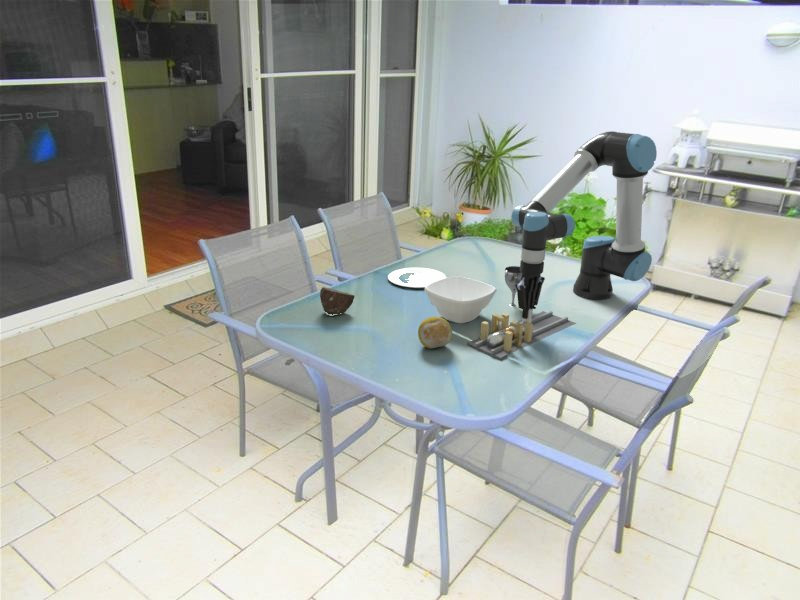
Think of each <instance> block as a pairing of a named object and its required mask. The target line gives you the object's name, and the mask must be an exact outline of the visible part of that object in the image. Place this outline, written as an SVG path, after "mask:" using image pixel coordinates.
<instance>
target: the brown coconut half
mask: <svg viewBox="0 0 800 600" xmlns="http://www.w3.org/2000/svg"><path fill="white" fill-rule="evenodd" d="M319 298H320V303H321V306H322V308H323V311H325V312H327V313H328V314H332V315H333V314H340V313H342V314H344V313H346V312H347V311H348V309H349V308H350V307H351V306H352V305H353V303H354V299H355V295H354V294H352V293H349V292H347V291H345V292H343V291H341V290H338V289H337V290H336V289H334V288H329V287H325V286H323V287H321V289H320V293H319ZM325 312H324V313H325ZM340 315H341V314H340Z"/></svg>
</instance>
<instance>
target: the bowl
mask: <svg viewBox="0 0 800 600" xmlns="http://www.w3.org/2000/svg"><path fill="white" fill-rule="evenodd" d="M423 289H424V292H425V294H426V295H427V297H428V300H429V301H430V304H431V305H433V306H434V307H435V308H436V311H437V312H438V314H439V316H440V317H441V318H443V319H445V320H446V321H450V322H453V323H457V324H465V323H468V322H472V321H474V320H476V319H477V318H478V317H479V316H480V314H481V313H482V311H483V309H485V308H487V307H488V306H489V304H490V303H491V301H492V299H493V298H494V296H495V294H496V293H497V288H496V287H494V286H493V285H491V284H490V283H489V284H488V283H486V282H483V281H481V280H477V279H474V278H469V277H467V276H466V277H465V276H460V275H456V276H449V277H447V278H444V279H441V280H438V281H435V282H433V283H431V284H429V285H427V286H426V287H425V288H423Z"/></svg>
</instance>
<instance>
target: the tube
mask: <svg viewBox="0 0 800 600" xmlns="http://www.w3.org/2000/svg"><path fill="white" fill-rule="evenodd" d="M525 323H527V322H525V321H523V322H520V324H522V325H523V333H522V335H523V334H524V333H525ZM506 331H510V332H512V333H513V334H512V339H513V338H514V337H515V327H512V326H511V327H508V328H506V329H503V330H501V331H499V332H496V333H494V334H491V335H489V336H487V337H486V339H485V342H486V345H487V346H488V347H490V348H493V347H495V346H497V345H500V344H502V343H504V337H505V332H506Z"/></svg>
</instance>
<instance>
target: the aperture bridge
mask: <svg viewBox="0 0 800 600" xmlns="http://www.w3.org/2000/svg"><path fill="white" fill-rule="evenodd" d="M504 320H505V317H502V315H501V314H498V313H497V314H496V313H494V314H492V316H491V327H490V333H491V334H494V333H496V332H498V330H499V329H500V328H499V327H500V323H501V322H503V321H504ZM517 322H518V321H515V320H512V321H510V322H509V325H510V326H512V327H515V337H514V345H515V346H517V347H519V346H521V343H522V333H523V325H522V324H520V323H517Z"/></svg>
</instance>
